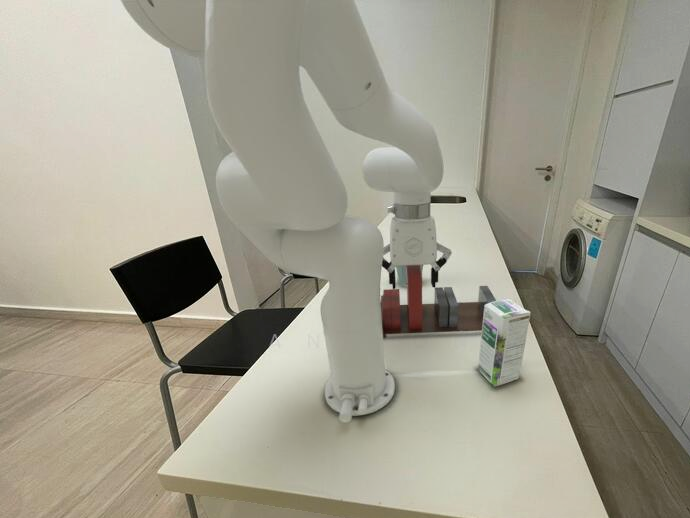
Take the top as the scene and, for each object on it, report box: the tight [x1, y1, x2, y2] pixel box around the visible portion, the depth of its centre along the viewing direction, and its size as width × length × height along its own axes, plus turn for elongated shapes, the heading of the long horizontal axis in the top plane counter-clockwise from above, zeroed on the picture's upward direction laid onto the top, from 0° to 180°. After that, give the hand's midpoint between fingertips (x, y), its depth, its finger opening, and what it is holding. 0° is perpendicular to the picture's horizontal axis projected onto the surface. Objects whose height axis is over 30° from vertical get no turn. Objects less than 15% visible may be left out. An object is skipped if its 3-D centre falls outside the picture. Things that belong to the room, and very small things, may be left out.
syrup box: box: [477, 298, 531, 388], centre depth 60 cm, size 6×6×14 cm
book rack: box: [380, 285, 497, 339], centre depth 80 cm, size 14×28×7 cm, turn 91°
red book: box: [406, 265, 423, 329], centre depth 78 cm, size 11×3×13 cm, turn 1°
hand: (413, 285), depth 77 cm, fingers open, 8 cm apart
